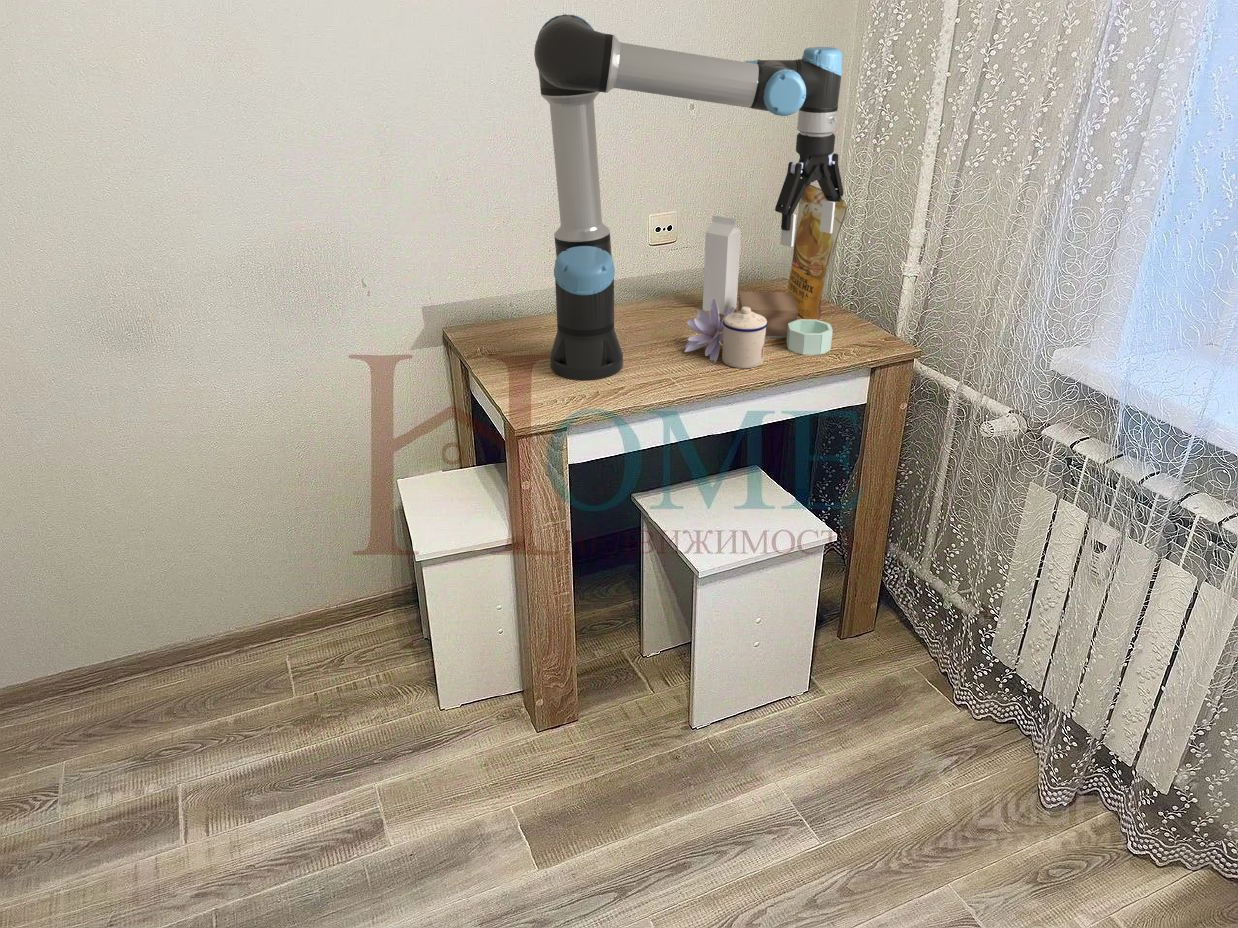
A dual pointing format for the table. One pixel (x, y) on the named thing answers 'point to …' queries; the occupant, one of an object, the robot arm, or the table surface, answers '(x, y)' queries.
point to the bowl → (809, 336)
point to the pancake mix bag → (812, 252)
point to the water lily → (707, 331)
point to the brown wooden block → (771, 309)
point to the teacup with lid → (744, 339)
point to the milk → (721, 264)
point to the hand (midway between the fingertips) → (806, 238)
